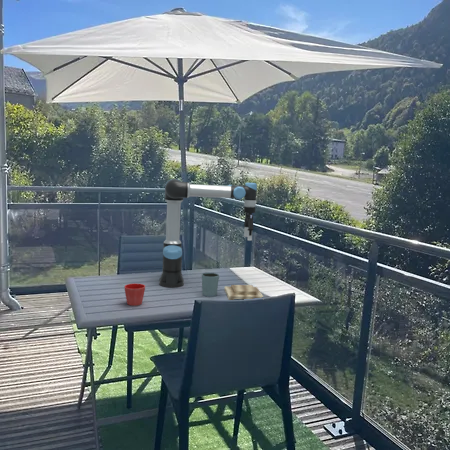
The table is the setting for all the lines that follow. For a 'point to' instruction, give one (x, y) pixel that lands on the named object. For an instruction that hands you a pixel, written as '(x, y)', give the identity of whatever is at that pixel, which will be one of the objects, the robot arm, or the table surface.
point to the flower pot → (134, 294)
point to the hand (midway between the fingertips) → (247, 238)
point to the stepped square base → (242, 292)
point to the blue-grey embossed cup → (210, 284)
